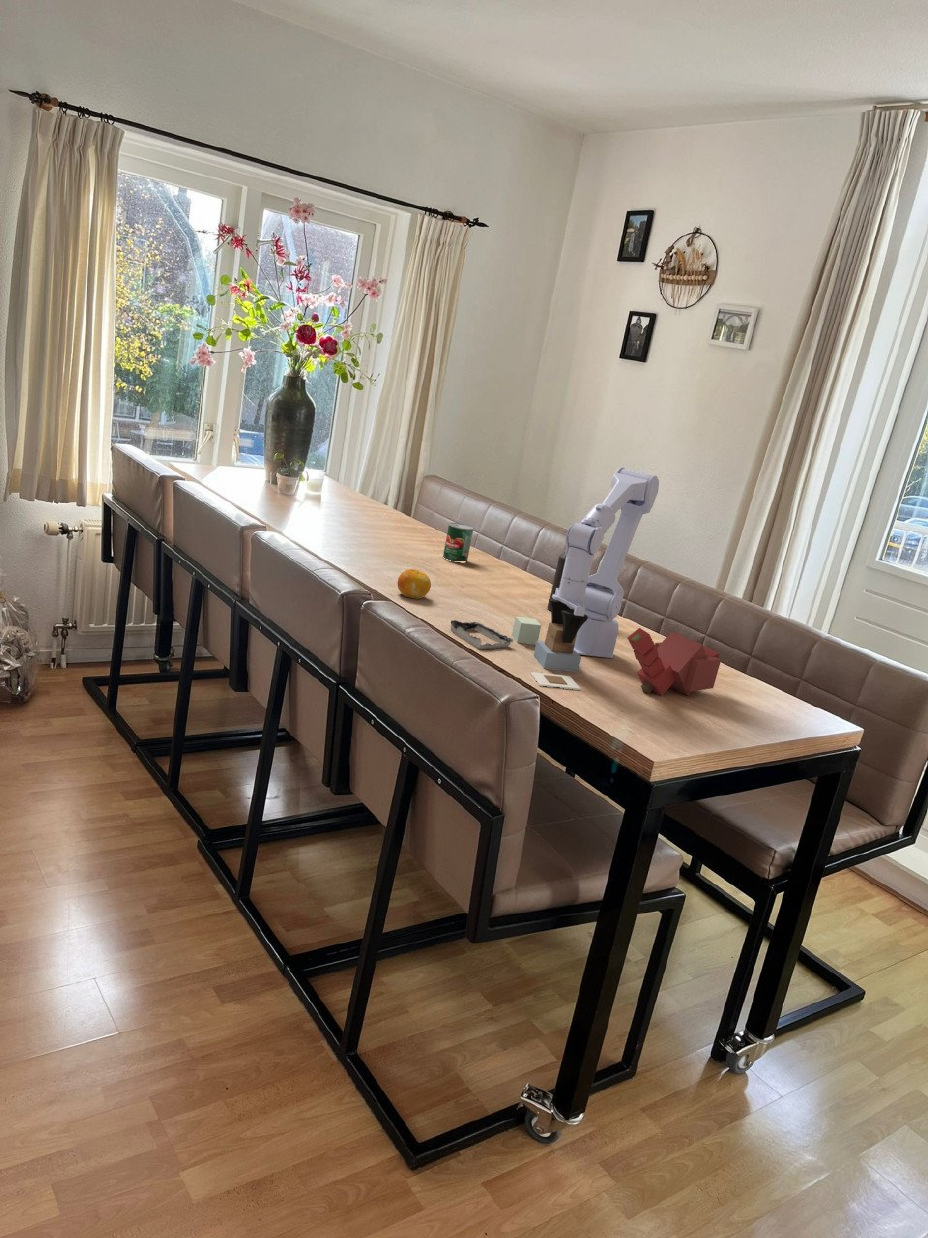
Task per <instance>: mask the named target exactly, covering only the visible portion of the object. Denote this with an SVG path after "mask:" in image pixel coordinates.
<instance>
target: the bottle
mask: <svg viewBox="0 0 928 1238" xmlns="http://www.w3.org/2000/svg"><path fill="white" fill-rule="evenodd" d="M564 549H566V543H565V544H564ZM565 560H566V555H565V551H564V552H563V553H561V554H560V555H559V556H558V559H557V564H556V567H555V572H554V576H553V581H552V586H551V591H550V595H549V599H553V598H552V595H553V594H555V591H556V588H559V587H560V582H561V578H562V574H563V569H564V565H565ZM547 610H548V611H550V612H551V608H550V604H549V602H548V604H547ZM570 611H571V610H570Z"/></svg>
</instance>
